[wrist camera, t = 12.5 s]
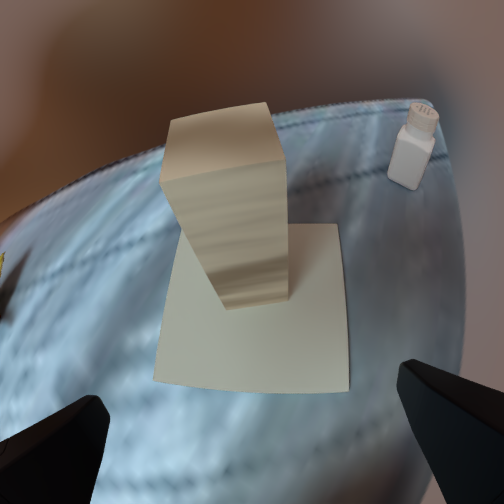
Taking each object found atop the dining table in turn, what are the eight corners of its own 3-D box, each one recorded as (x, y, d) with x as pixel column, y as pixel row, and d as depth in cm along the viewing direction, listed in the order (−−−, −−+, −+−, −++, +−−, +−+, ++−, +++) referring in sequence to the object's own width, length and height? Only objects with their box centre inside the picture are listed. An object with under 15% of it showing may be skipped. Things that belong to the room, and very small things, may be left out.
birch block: (288, 300, 22) (285, 159, 10) (226, 310, 22) (159, 182, 10) (278, 248, 25) (265, 102, 13) (222, 257, 25) (171, 120, 13)
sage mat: (347, 391, 18) (348, 391, 18) (155, 381, 20) (152, 380, 19) (336, 226, 26) (337, 223, 25) (184, 229, 28) (182, 226, 27)
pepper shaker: (384, 178, 29) (402, 108, 21) (394, 161, 30) (410, 96, 22) (414, 194, 27) (440, 126, 19) (422, 175, 28) (444, 111, 20)
